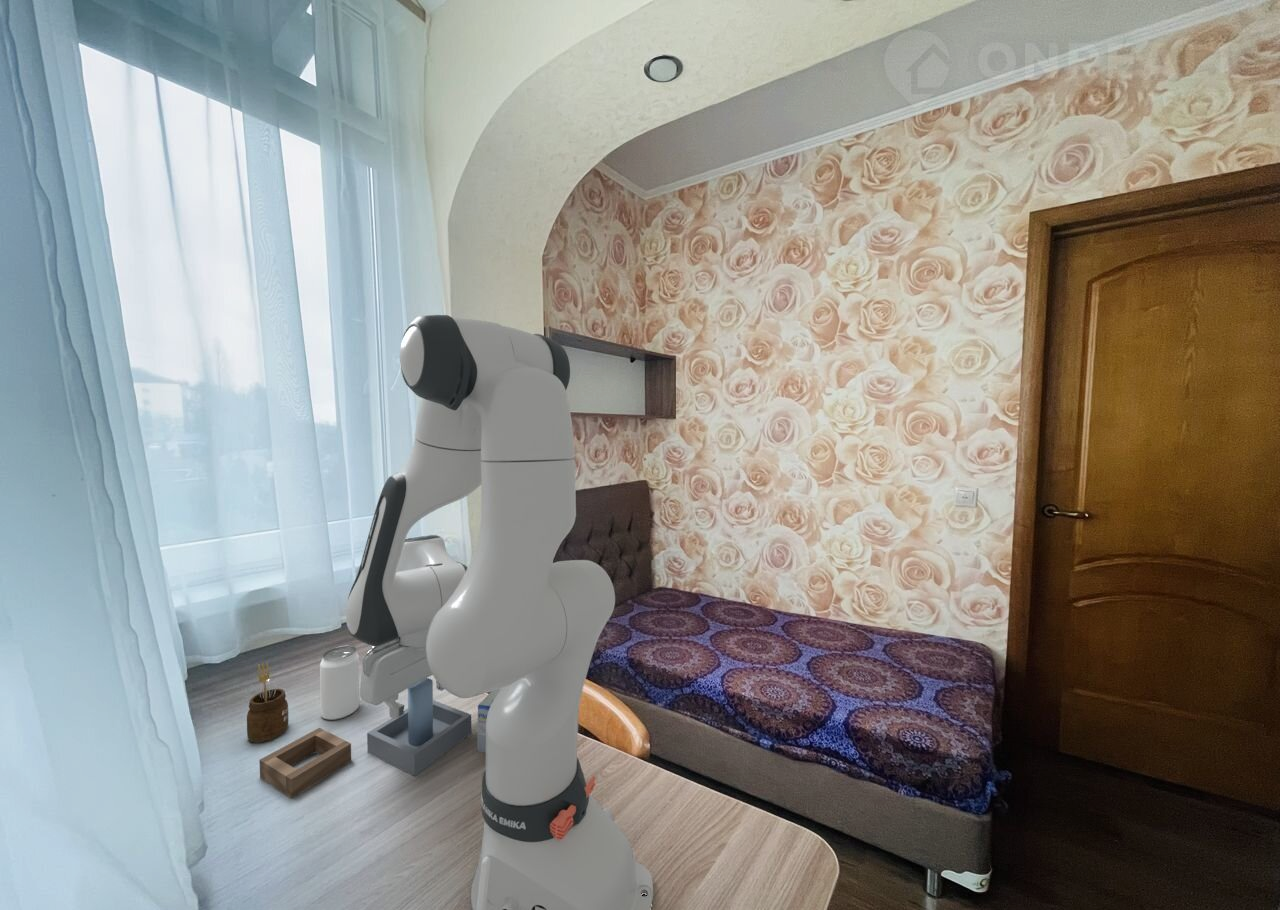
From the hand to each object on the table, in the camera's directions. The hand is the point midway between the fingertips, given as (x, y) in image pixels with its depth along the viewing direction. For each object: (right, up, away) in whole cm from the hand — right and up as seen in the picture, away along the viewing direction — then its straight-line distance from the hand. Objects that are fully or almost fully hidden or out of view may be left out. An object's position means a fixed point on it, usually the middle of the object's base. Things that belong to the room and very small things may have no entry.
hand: (420, 701), depth 82 cm
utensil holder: (-29, -7, +2) cm, 30 cm away
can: (-20, -7, +9) cm, 23 cm away
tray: (0, -8, 0) cm, 8 cm away
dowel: (0, -7, 0) cm, 7 cm away
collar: (-16, -8, -6) cm, 19 cm away
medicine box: (+14, -8, +1) cm, 16 cm away
